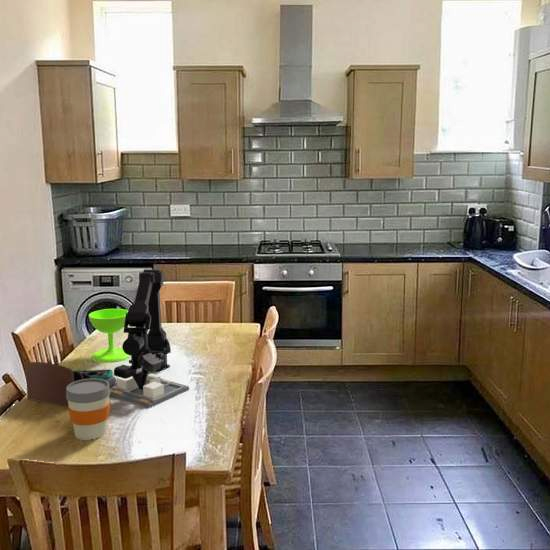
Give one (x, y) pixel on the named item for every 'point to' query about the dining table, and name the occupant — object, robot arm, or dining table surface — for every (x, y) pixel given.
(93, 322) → the wineglass
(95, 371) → the digital multimeter
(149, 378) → the cream block
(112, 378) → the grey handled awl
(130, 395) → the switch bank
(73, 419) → the reusable coffee cup
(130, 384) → the white block
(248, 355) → the dining table surface
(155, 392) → the cream square block
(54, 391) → the letter holder
